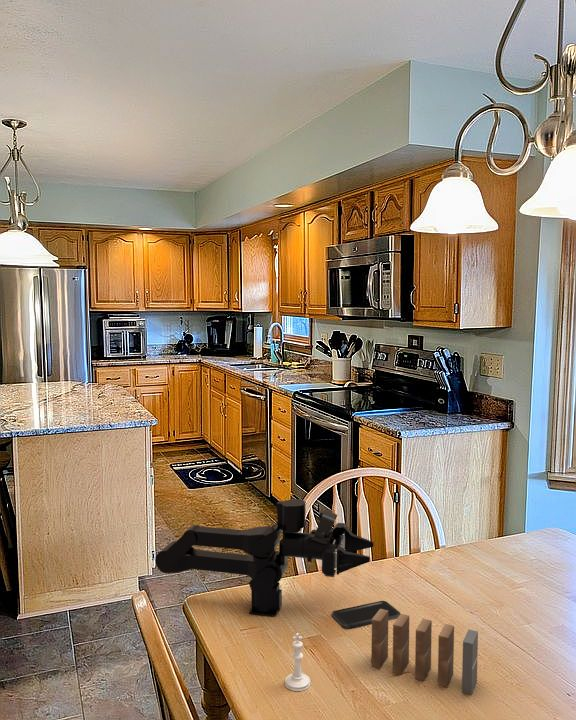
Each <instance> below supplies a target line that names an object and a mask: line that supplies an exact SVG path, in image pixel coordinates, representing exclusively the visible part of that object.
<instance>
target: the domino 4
mask: <svg viewBox="0 0 576 720" xmlns="http://www.w3.org/2000/svg"><path fill="white" fill-rule="evenodd" d="M437 644H438V646H437V647H438V648H437V649H438V650H437V652H438V653H437V654H438V655H437V666H438V667H437V686H438V687H441V688H445V689H448V687H449V685H450V683H451V680H452V678H453V676H454V655H455V652H454V651H455V649H454V648H455V626H454V625H452V624H447V623H444V624H443V626H442V629H441V631H440V632H439V634H438V643H437Z"/></svg>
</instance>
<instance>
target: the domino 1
mask: <svg viewBox="0 0 576 720" xmlns="http://www.w3.org/2000/svg"><path fill="white" fill-rule="evenodd" d="M388 658H389V621H388V610H384V609H379V611H378V612H377V613H376V615H375V616H374V617H373V618H372V624H371V668H374V669H378V670H381V669H382V667H383V665H384V663H385V662H386V661H387V659H388Z"/></svg>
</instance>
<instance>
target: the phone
mask: <svg viewBox="0 0 576 720" xmlns="http://www.w3.org/2000/svg"><path fill="white" fill-rule="evenodd" d="M379 609H384V610H388V622H389V621H392V620H397V618H398V617H399V616H400V614H401V612H400V611H399V610H398V609H396V608H395V607H394V606H393V605H392V604H390V602H388V601H386V600H378V601H374V602H369V603H364V604H360V605H356V606H351V607H347V608H341V609H336V610H333V611H332V612H331V617H332V618H333V619H334V620H335V621H336V622H337V623H338V624H339V625H340V626H341V627H342V629H345V630H352V629H353V630H354V629H358V628H361V627H365V626H370V625H371V626H372V618H373V617H374V616H375V615H376V613H377V612H378V611H379Z"/></svg>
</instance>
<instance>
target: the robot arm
mask: <svg viewBox="0 0 576 720" xmlns="http://www.w3.org/2000/svg"><path fill="white" fill-rule="evenodd" d="M306 502H307V501H305V500H303V499H299V498H293V499H286V500H278V502H277V503H276V511H277V512H276V514H277V515H276V518H277V519H276V520H277V522H276V523H275V524H272V525H271V526H270V525H266V526H265V525H264V526H255V527H252V528H247V529H236V528H235V529H233V528H224V527H223V528H221V527H211V526H210V527H209V526H200V525H197V524H194V525H191V526H190V527H188V529H186V531H184V532H183V534H182V535H181V537H180V538H178V539H177V540H173V541H170V542H169V543H168V544H167V545H166V546H165V547H163V548H162V549H161V550H160V551H159V552H158V553H156V556H155V565H156V567H157V568H158V570H159V572H160V573H163V574H177V573H182V572H183V573H184V572H187V571H189V570H190V571H191V570H196V571H204V572H214V573H215V572H216V573H224V574H232V575H243V576H248V577H249V578H250V580H249V582H248V585H249V587H250V590H251V594H250V595H251V608H250V610H249V614H250V615H259V616H267V617H268V616H269V617H276V616H277V614H278V612H279V611H280V610H281V608H282V605H283V601H282V600H283V597H282V596H283V592H282V591H283V590H282V588H281V587H280V581H281V580H282V578H283V576H284V574H285V573H286V571H287V569H288V565H289V561H288V560H289V559H288V558H289V557H290V558H297V559H300V558H301V559H307V560H306V561H307V562H308V563H312V562H313V561H314V560H319V561H321V573H322V574H323V575H324V576H325V577H328V578H335V576H336V575H337V576H338V575H340V574H341V573H344V572H346V571H349V570H351V569H354V568H357V567H359V566H361V565H362V566H363V565H365V564H368V563H370V561H371V558H370V556H367V555H365V554H360V553H356V551H362V550H366V549H369V548H374V546H375V544H374V541H372V540H369V539H368V538H365V537H361V536H359V535H357V534H355V533H353V532H352V531H351V530H350V528H349V525H347V524H346V523H345V522H337V523H336V524H335V521H336V520H337V517H338V514H337V513H335V512H333V510H332V509H324V510H320V513H319V515H318V517H317V520H319V523H318V526H317V527H316V529H312V530H311V531H310V533H309V532H301V531H302V529H304V528H305V527H306V513H307V512H306V511H307V509H306V504H307V503H306ZM334 524H335V525H334ZM332 527H333V528H332ZM281 534H282V539H281V538H280V535H281ZM193 546H194V547H193ZM195 546H196V547H209V548H217V549H218V548H219V549H231V550H239V551H242V552H244V553H245V554H241V553H240V554H239V553H232V552H231V553H230V552H221V551H210V550H203V549H202V550H201V549H196V548H195ZM278 546H279V548H278V550H277V547H278Z"/></svg>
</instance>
